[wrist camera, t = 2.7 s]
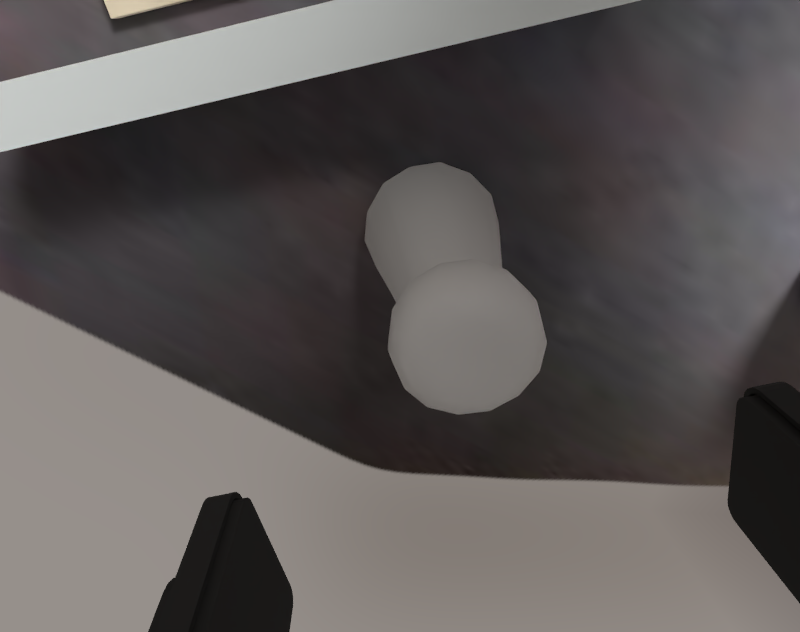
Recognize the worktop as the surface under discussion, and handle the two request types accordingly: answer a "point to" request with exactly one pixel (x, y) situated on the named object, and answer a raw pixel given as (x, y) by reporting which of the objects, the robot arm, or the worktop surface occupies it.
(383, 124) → the worktop surface
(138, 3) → the coaster board
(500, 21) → the acrylic wall
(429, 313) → the salt shaker
